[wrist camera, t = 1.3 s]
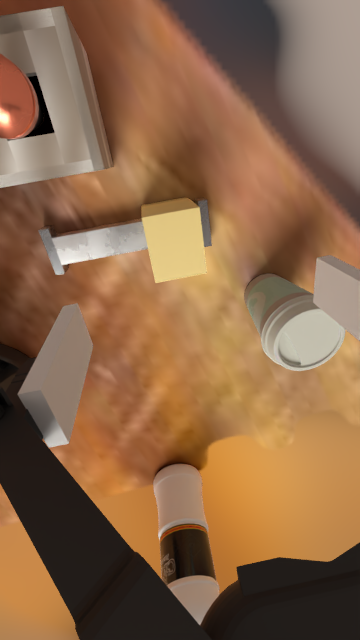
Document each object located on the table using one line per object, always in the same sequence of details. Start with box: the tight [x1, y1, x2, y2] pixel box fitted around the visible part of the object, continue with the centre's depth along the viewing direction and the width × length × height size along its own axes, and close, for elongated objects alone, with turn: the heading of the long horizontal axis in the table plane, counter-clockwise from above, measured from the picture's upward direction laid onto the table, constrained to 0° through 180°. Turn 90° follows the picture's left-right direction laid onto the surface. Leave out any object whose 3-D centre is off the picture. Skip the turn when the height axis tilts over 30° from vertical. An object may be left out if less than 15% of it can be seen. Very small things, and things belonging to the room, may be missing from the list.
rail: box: [39, 197, 212, 275], centre depth 33 cm, size 18×5×2 cm, turn 99°
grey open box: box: [0, 6, 114, 188], centre depth 24 cm, size 9×9×9 cm
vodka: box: [153, 464, 220, 625], centre depth 44 cm, size 9×9×30 cm
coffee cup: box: [244, 273, 345, 371], centre depth 34 cm, size 9×9×12 cm
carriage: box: [141, 197, 207, 283], centre depth 30 cm, size 5×6×8 cm
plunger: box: [0, 54, 44, 139], centre depth 18 cm, size 4×4×5 cm
